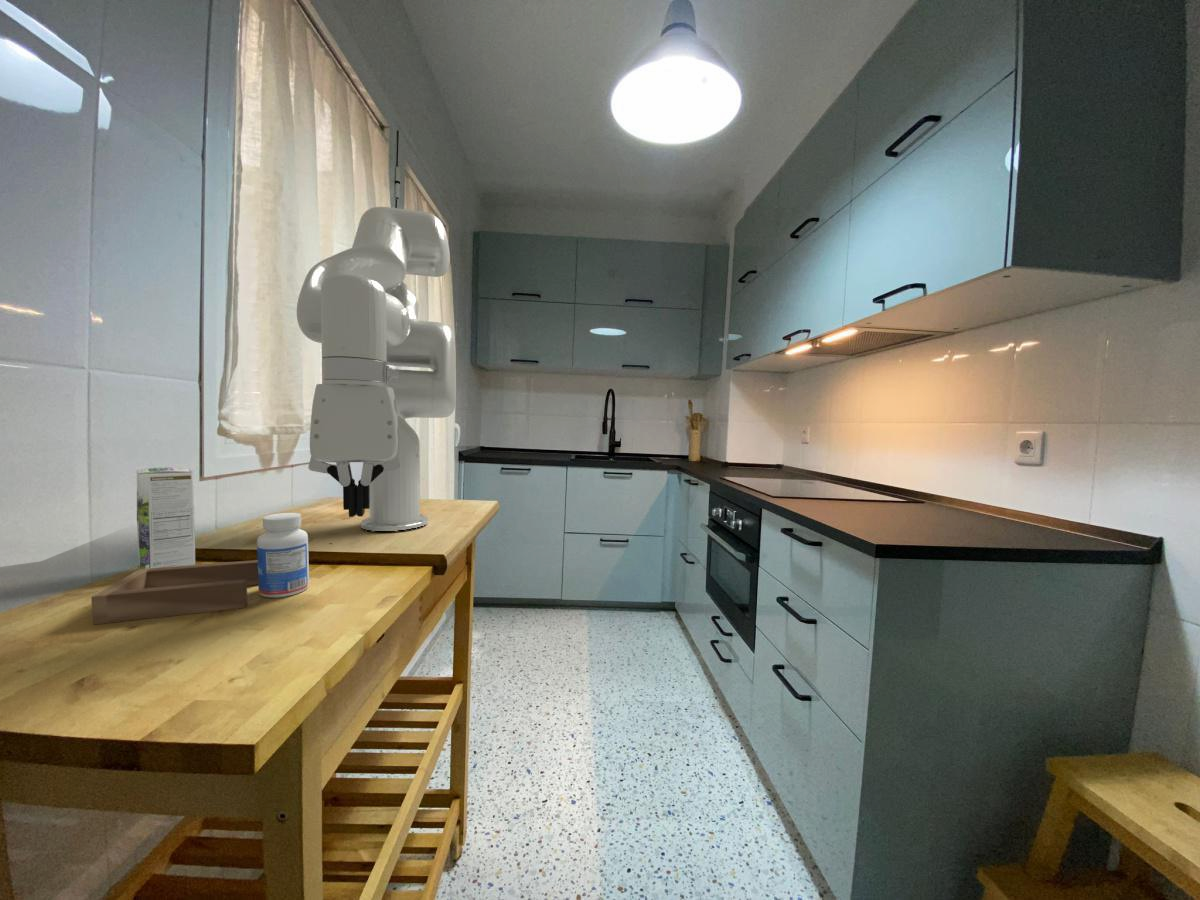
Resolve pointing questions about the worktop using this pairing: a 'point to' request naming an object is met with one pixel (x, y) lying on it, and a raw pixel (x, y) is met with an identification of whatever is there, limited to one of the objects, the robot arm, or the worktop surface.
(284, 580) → the pill bottle
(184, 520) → the syrup box
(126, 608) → the cradle
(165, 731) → the worktop surface
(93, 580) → the worktop surface
